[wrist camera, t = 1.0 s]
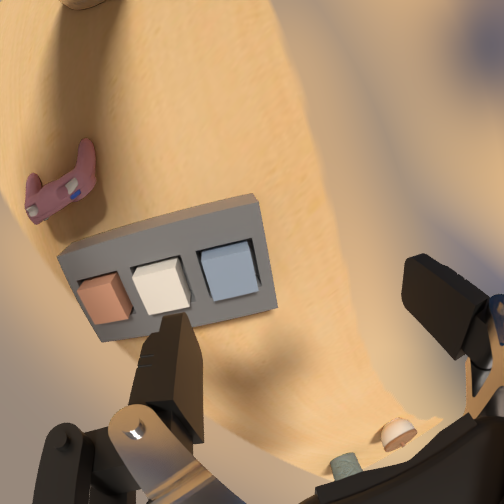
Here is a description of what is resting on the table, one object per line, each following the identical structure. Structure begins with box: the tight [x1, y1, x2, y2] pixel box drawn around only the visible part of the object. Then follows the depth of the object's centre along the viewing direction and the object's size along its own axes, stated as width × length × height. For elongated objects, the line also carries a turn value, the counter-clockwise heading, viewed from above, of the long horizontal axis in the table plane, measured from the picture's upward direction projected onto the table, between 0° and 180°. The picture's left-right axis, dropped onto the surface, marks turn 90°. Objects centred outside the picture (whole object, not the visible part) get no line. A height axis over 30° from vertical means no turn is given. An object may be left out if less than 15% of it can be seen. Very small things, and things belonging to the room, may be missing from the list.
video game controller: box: [25, 138, 96, 225], centre depth 22 cm, size 10×5×7 cm, turn 107°
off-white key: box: [132, 256, 191, 315], centre depth 26 cm, size 4×4×2 cm
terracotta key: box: [77, 271, 133, 325], centre depth 26 cm, size 4×4×2 cm
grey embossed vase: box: [330, 453, 363, 481], centre depth 60 cm, size 10×10×12 cm
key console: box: [57, 193, 278, 342], centre depth 28 cm, size 12×22×4 cm, turn 101°
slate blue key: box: [201, 240, 259, 301], centre depth 27 cm, size 4×4×2 cm
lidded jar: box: [381, 418, 417, 452], centre depth 56 cm, size 11×11×9 cm
